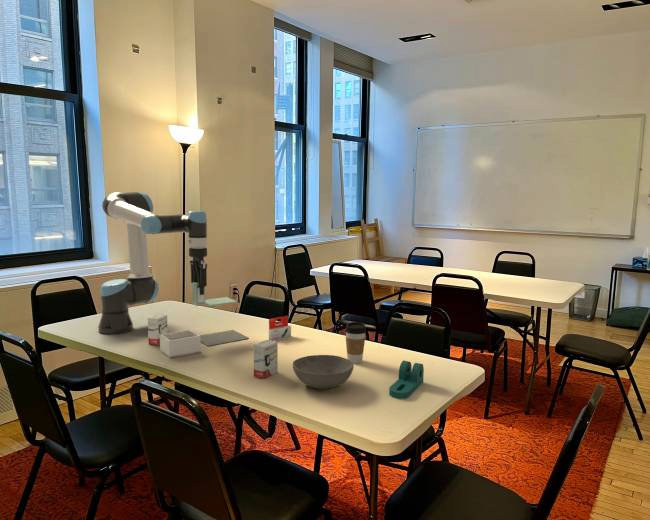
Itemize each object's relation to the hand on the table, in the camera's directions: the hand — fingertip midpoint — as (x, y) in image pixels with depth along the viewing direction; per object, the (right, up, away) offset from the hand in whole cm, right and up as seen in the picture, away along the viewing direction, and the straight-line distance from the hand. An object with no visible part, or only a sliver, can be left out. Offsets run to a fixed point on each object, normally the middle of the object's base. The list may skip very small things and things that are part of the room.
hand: (199, 300), depth 214 cm
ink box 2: (+33, -24, -33) cm, 53 cm away
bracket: (+82, -27, -45) cm, 97 cm away
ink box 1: (-19, -18, +3) cm, 26 cm away
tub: (-5, -20, -10) cm, 23 cm away
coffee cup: (+66, -23, -18) cm, 72 cm away
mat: (+7, -18, +10) cm, 22 cm away
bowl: (+54, -26, -42) cm, 73 cm away
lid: (+5, -2, +4) cm, 7 cm away
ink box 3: (+34, -18, +11) cm, 40 cm away
